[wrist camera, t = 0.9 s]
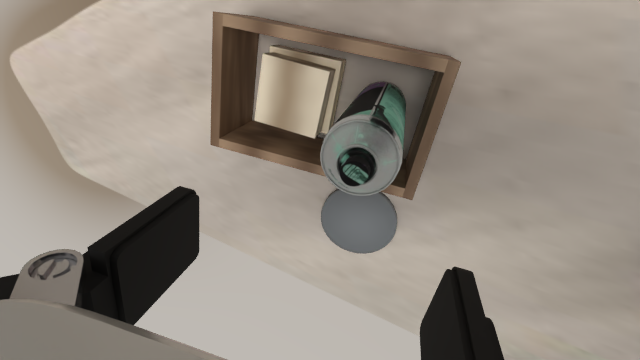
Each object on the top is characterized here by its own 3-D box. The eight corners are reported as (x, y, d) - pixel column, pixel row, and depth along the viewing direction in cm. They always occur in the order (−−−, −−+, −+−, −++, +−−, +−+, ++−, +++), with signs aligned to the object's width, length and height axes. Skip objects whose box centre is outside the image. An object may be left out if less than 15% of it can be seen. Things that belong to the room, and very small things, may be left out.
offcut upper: (336, 68, 33) (329, 71, 31) (321, 131, 37) (314, 138, 34) (274, 52, 34) (262, 53, 32) (265, 114, 38) (254, 120, 35)
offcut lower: (346, 59, 36) (341, 61, 33) (333, 127, 39) (327, 134, 37) (279, 44, 37) (269, 45, 34) (272, 112, 40) (263, 117, 38)
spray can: (361, 78, 36) (312, 121, 18) (410, 84, 35) (410, 137, 17) (353, 125, 38) (304, 204, 20) (400, 133, 37) (391, 223, 19)
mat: (379, 174, 40) (378, 177, 39) (408, 239, 42) (408, 243, 42) (310, 197, 44) (308, 201, 43) (341, 255, 46) (339, 260, 45)
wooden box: (450, 56, 33) (461, 62, 25) (411, 169, 38) (412, 200, 31) (251, 15, 36) (213, 11, 29) (244, 126, 42) (210, 144, 35)
